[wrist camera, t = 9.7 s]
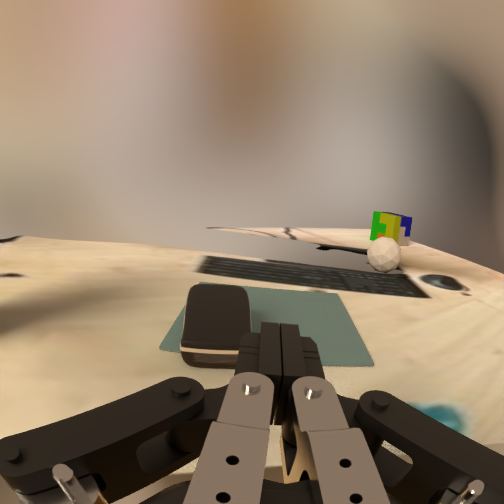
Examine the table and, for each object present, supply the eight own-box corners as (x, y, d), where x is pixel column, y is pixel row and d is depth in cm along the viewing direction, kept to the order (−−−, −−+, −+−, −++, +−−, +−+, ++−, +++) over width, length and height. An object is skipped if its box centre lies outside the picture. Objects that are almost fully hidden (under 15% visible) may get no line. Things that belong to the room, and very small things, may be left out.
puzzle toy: (407, 246, 96) (412, 217, 94) (390, 246, 92) (395, 216, 89) (387, 239, 105) (391, 212, 102) (369, 239, 101) (373, 211, 98)
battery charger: (253, 375, 27) (245, 310, 38) (257, 345, 26) (248, 284, 36) (179, 372, 27) (189, 308, 37) (177, 342, 25) (189, 281, 36)
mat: (159, 349, 29) (159, 346, 29) (200, 283, 48) (200, 281, 48) (373, 366, 28) (374, 363, 28) (336, 295, 48) (337, 293, 47)
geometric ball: (376, 279, 66) (383, 249, 68) (404, 277, 59) (410, 245, 61) (356, 264, 63) (364, 233, 65) (385, 261, 56) (392, 227, 58)
